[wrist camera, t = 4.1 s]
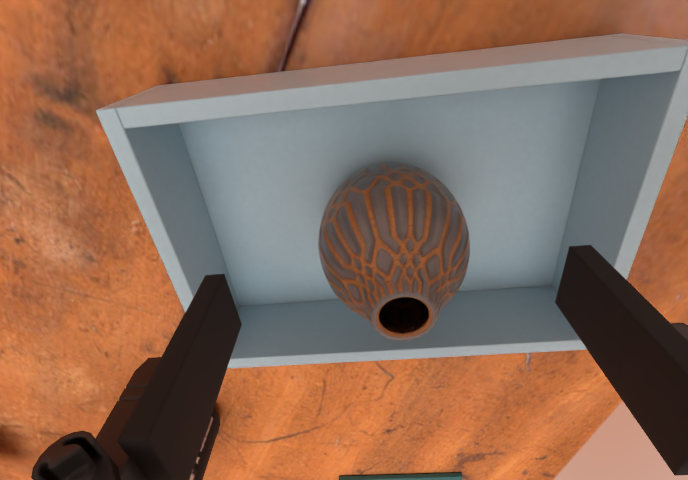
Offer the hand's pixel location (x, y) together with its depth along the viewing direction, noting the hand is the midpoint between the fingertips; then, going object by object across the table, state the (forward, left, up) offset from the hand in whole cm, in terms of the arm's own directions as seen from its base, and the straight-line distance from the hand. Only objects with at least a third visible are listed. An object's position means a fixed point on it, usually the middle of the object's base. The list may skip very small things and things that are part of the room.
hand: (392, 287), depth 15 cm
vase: (0, 0, -7) cm, 7 cm away
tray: (0, 0, -8) cm, 8 cm away
